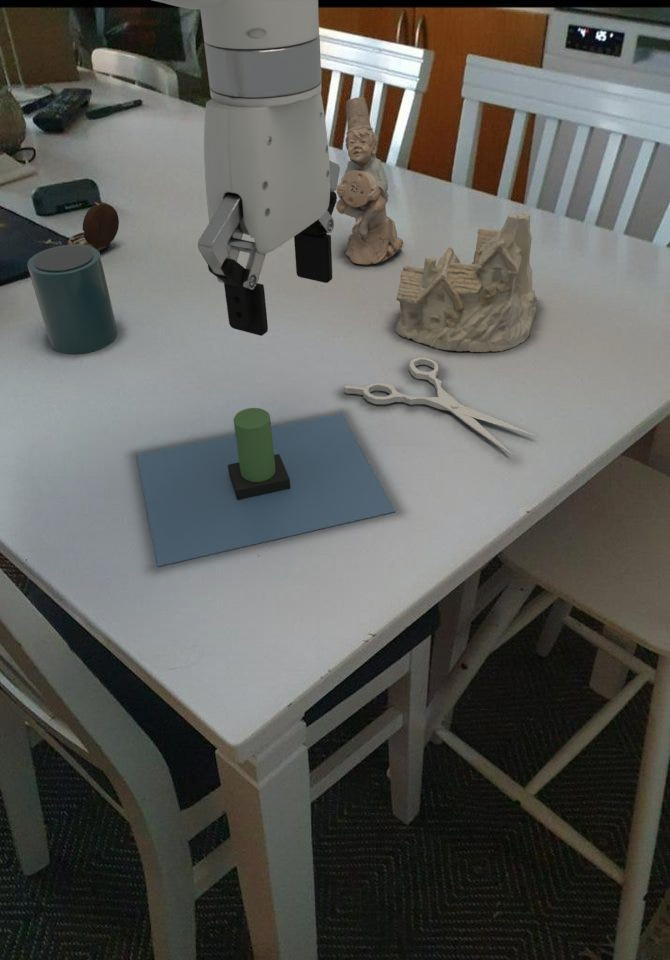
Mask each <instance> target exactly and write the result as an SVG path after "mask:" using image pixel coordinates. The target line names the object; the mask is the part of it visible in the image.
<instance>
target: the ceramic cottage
mask: <svg viewBox="0 0 670 960" xmlns="http://www.w3.org/2000/svg"><path fill="white" fill-rule="evenodd" d="M532 239H533V238H532V233H531V215H530V213H528V212H523V211H522V212H521V211H520V212H517V213H516V214H515V213H509V214H508V215H507V218H506V220H505V222H504V224H503V227H502V228H501V229H498V230H497V229H488V228H478V230H477V239H476V245H475V251H474V255H473V261H472V262H471V263H469V264H468V263H467V264H466V263H461V261H460V259H459V258H458V256H457V254H456V253H455V251H454V249H453V248H452V247H448V248H447V249H446V251H445V252H444V253H443V255H442V256H441V257H440V258H439V259H438V263H437V258H436V257H435V256H434V257H429V256H425V259H424V265H423V268H422V267H415V266H410V265H408V264H406V265H404V266H403V267H402V271H401V272H400V279H399V284H398V290H397V295H396V301H398V302H399V309H400V317H399V318H398V320H397V323H396V326H395V332H396V333H397V334H398V336H401V337H402V338H404V339H405V338H407V339H408V340H410V339H412V341H415V342H416V343H420V344H424V345H428V346H429V347H431V348H432V347H434V348H435V349H437V350H439V349H440V350H444V351H456V352H468V351H469V352H470V353H474V352H475V353H488V352H491V353H493V352H503V351H506V350H509V349H511V348H516V346H519V345H520V344H522V343H525V341H526V340H527V339H528V338H529V336H530V334H531V333H530V332H531V329H532V325H533V324H534V321H535V317H536V313H537V299H538V297H537V296H536V291H535V290H534V289H533V269H532V266H531V263H530V260H531V259H530V256H531V247H532Z"/></svg>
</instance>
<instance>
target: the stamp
mask: <svg viewBox="0 0 670 960" xmlns="http://www.w3.org/2000/svg"><path fill="white" fill-rule="evenodd" d="M233 426H234V435H236V442H237V449H238V456H239V462H238V463H233V464H228V471H229V476H230V479H231V482H232V485H233V488H234V491H235V494H236V497H237V500H240V499H245V498H249V497H254V496H258V495H263V494H268V493H272V492H277V491H281V490H286V489H290V478H289V476H288V474H287V471H286V469H285V466H284V464H283V462H282V459H281V457H280V455H279V454H276V455H274V449H273V440H272V430H271V428H272V419H271V415H270V413H269V412H268V411H267V410H265V409H263V408H260V407H250V408H249V407H247V408H245V409H242V410H240V411H238V412H237V413H236V414H235V415H234V417H233Z"/></svg>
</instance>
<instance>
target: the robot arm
mask: <svg viewBox="0 0 670 960" xmlns="http://www.w3.org/2000/svg"><path fill="white" fill-rule="evenodd" d="M152 1H153V2H158V3H163V4H166V5H170V6H174V7H178V8H181V9H187V10H200V18H201V26H202V34H203V41H204V42H203V44H204V45H203V46H204V53H205V61H206V69H207V79H208V85H209V95H210V98H211V99H209V100H207V101H206V102H205V112H204V126H203V127H204V128H203V129H204V130H203V161H204V181H205V195H206V205H207V207H206V208H207V214H208V216H207V217H208V224H207V226H206V227H205V229H204V231H203V232H202V234H201V236H200V237H199V239H198V242H197V249H198V251H199V253H200V254H201V256H202V258H203V260H204V261H205V263H206V264H207V269H208V271H209V272H210V273H211V274H212V275H213V276H214V277H216V278H217V279H216V280H217V281H218V282H219V283H222V284H223V287H224V295H225V301H226V310H227V317H228V324H229V327H231V328H232V329H233V330H237V331H241V332H244V333H249V334H251V335H252V334H253V335H256V336H260V337H262V336H264V335H265V334H266V333H268V331H269V324H268V323H269V322H268V314H267V313H268V312H267V303H266V292H265V285H264V284H263V283H258V281H259V278H260V275H261V272H262V268H263V265H264V261H265V258H266V255H267V254H269V253H271V252H273V251H275V250H276V249H278V248H280V247H281V246H282V245H283V244H285V243H287V242H288V241H290V240H291V239H293V242H294V257H295V272H296V275H297V277H299V278H301V279H306V280H310V281H316V282H320V283H323V284H324V283H325V284H329V282H331V281H332V280H333V257H332V255H333V254H332V251H333V250H332V235H331V233H332V232H333V230H334V228H335V220H334V218H333V216H332V215H333V212H334V209H335V207H336V204H337V202H338V200H337V199H338V197H337V195H338V194H337V185H338V182H339V176H340V170H341V168H340V167H341V166H340V165H339V164H338V163H336V162H334V161H331V160H330V154H329V143H328V132H327V124H326V123H327V122H326V116H325V109H324V103H323V96H322V90H323V89H322V63H321V62H322V61H321V38H320V37H321V36H320V17H319V0H152ZM243 235H246V236H249V237H250V238H253V239H254V241H251V240H246V239H243ZM240 252H243V253H247V254H249V255H248V259H247V262H246V266H245V267H244V266H243V265H241V264H240V263H239V262H238V259H239V255H240Z"/></svg>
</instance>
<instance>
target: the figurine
mask: <svg viewBox="0 0 670 960" xmlns="http://www.w3.org/2000/svg"><path fill="white" fill-rule="evenodd" d="M345 110H346V127H347V128H346V130H347V131H346V133H345V135H346V137H345V148H346V150H347V155H348V157H349V160H348V162H347V165H346V169H345V171H344V173H343V176H342V177H341V179H340V180H341V181H340V183H339V184H337V188H336V195H338V198H339V199H338V200H337V202H336V204H335V207H336V208H335V209H336V211H337V212H338V213H339V214H341V215H346V216H349V217H350V218H354V219H355V223H354V224H353V227H351V234H349V236H348V237H347V241H346V244H347V246H348V248H347V250H346V252H345V255H346V256H347V257H348V258H349V260H350V261H351V262H352V263H353V264H355V265H372V264H374V265H375V264H378V263H383V262H384V261H386V260H388V259H390V258H391V257H393V256H394V255H395V254H396V253H397V252H399V251H402V249H403V246H404V240H403V239H402V238H400V237H398V232H397V227H396V223H395V221H394V220H393V219H392V218H390V217H389V216H387V208H386V205H387V203H388V201H389V196H390V195H389V194H388V189H389V183H388V178H387V175H386V172H385V169H384V167H383V164H382V160H381V159H379V158H377V156H376V153H377V150H378V142H379V138H378V135H377V133H375V131H374V129H373V127H372V124H371V121H370V120H371V119H370V115H369V109H368V104H367V100H366V98H365V97H359V96H358V97H353V98H350V99H347V101H346V104H345Z"/></svg>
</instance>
